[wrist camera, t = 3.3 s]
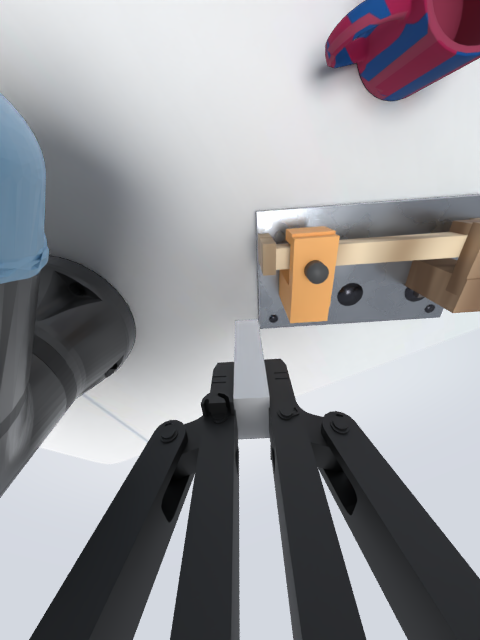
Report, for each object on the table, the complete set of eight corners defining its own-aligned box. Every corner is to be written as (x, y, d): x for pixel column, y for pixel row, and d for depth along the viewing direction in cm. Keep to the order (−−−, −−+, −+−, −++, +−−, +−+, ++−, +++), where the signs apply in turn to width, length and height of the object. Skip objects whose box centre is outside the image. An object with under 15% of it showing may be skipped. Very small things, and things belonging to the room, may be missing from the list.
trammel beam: (259, 304, 24) (267, 342, 18) (257, 228, 21) (266, 243, 15) (450, 292, 24) (521, 326, 18) (484, 211, 20) (588, 220, 14)
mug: (445, 88, 17) (555, 34, 11) (310, 122, 18) (346, 89, 12) (471, -61, 14) (646, -247, 8) (305, -10, 15) (351, -144, 9)
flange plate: (259, 323, 27) (260, 328, 26) (255, 211, 21) (257, 212, 20) (431, 312, 27) (440, 317, 25) (478, 194, 21) (491, 194, 19)
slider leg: (278, 304, 24) (292, 342, 18) (280, 224, 20) (298, 239, 14) (307, 302, 24) (330, 339, 18) (314, 221, 20) (346, 235, 14)
